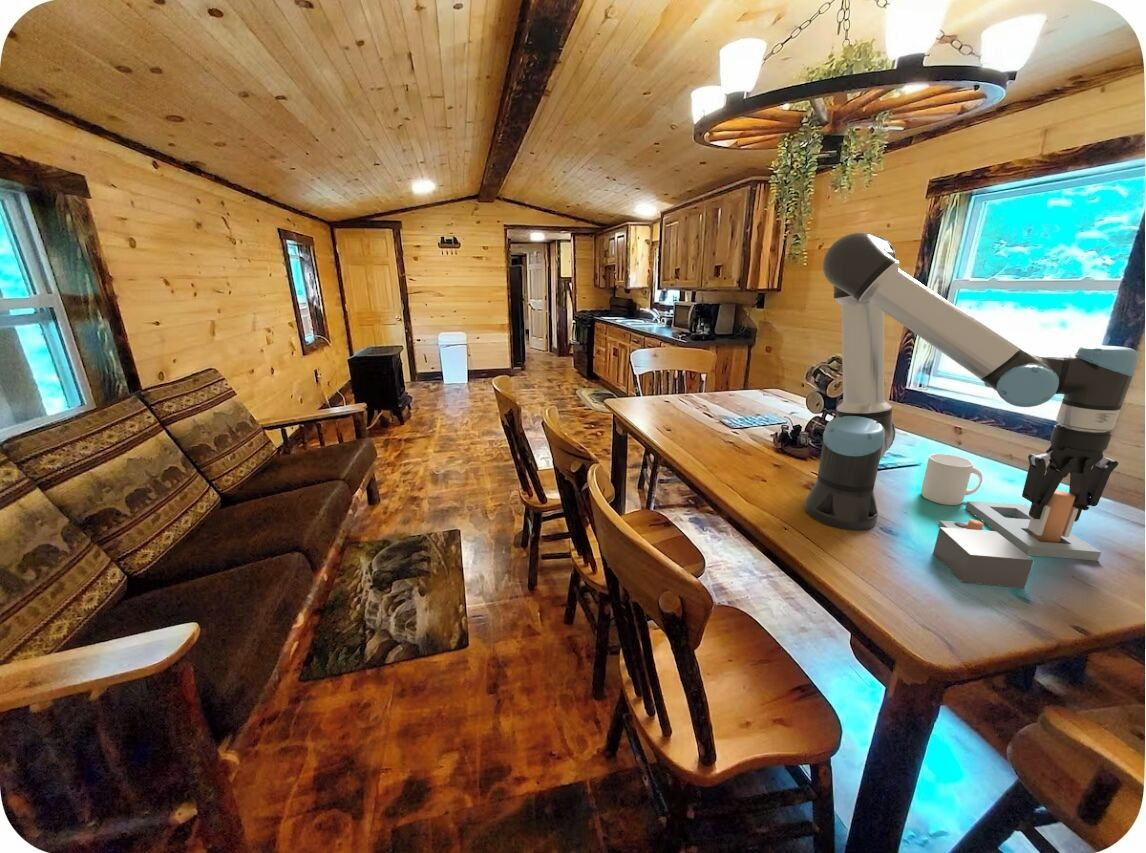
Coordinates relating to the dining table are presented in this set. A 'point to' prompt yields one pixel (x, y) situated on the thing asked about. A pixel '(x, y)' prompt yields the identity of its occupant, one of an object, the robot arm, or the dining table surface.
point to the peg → (1056, 517)
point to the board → (962, 524)
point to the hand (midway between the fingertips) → (1047, 532)
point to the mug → (948, 479)
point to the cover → (982, 557)
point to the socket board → (1029, 532)
